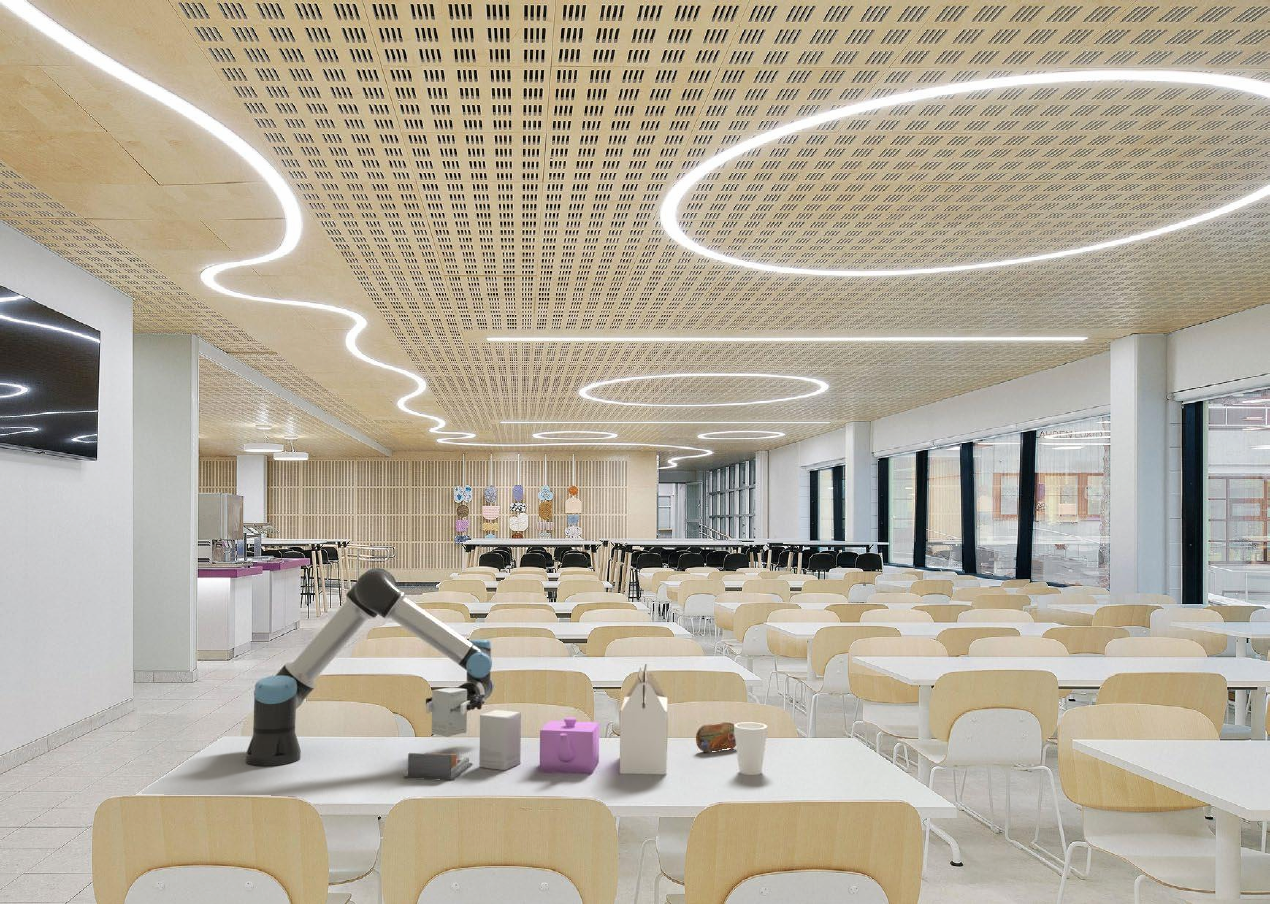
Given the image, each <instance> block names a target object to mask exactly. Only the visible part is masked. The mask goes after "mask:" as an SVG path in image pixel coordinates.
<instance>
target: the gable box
mask: <svg viewBox="0 0 1270 904" xmlns="http://www.w3.org/2000/svg"><path fill="white" fill-rule="evenodd" d="M647 665H648V664H646V663H645V664H644V667H643V668H644V669H643V670H642V667H639V671H638V675H637V679H636V680H635V682H634V683H633V685H632V686H631V688H630V689H629V691H628V692H627V694H626V695H625V696H624V697H623V701H622V705H621V708H620V711H619V713H620V715H619V716H620V717H619V719H620V720H619V721H620V722H619V723H620V724H619V774H622V775H623V774H624V775H626V774H627V775H628V774H629V775H662V776H663V775H667V769H668V768H667V767H668V710H669V708H668V707H669V706H668V705H669V703H668V701H669V699H668V697H667V696H666V694H665V693H664V691H663V689H662V688H661V687H660V685H659V683H658V682H657V680H656V678H655V677H654V675H653V674H651V673H649V672H647V671H648V669H647V668H648V666H647Z"/></svg>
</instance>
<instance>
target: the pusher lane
mask: <svg viewBox="0 0 1270 904" xmlns="http://www.w3.org/2000/svg"><path fill="white" fill-rule="evenodd" d="M442 754H443V753H442ZM442 754H425V753H418V752H416V753H415V752H409V753H408V754H407V755H408V756H407V773H406V774H404V776H403V778H404V779H412V778H424V779H423V780H432V779H440V780H439V781H451V780H453V781H455V780H456V779H457V778H458V777H460V776H461V775H462V774H463V773H465V772H466V771H467V770H469V768H470V767H472V766H473V763H472V762H470V757H469V756H465V757H464V758H460V759H459V758H458V763H457V764H456V765H455V766H453V767H452V768H451V755H442ZM465 770H466V771H465ZM455 778H456V779H455Z"/></svg>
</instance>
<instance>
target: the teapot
mask: <svg viewBox="0 0 1270 904" xmlns="http://www.w3.org/2000/svg"><path fill="white" fill-rule="evenodd" d="M577 720H578V719H577V718H576V717H573V716H572V717H571V716H570V717H564V719H563V720H548V721H547V722H546V723H545V725H544V726H543V727H542V728H541V729H540V730H539V772H540V773H561V774H563V773H564V774H585V775H586V774H588V775H592V774H593V773H594V772H595V770H596V768H597V766H598V765H599V763H600V762H599V761H600V760H599V759H600V722H598V721H597V722H595V721H594V722H593V721H577Z"/></svg>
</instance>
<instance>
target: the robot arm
mask: <svg viewBox="0 0 1270 904" xmlns="http://www.w3.org/2000/svg"><path fill="white" fill-rule="evenodd" d="M377 616H381V618H383V619H391V620H392V621H394V622H395V623H397V624H398V625H400V626H401V627H403V628H404V629H405V630H407V631H409V632H410V633H412V634H413V635H414V636H416V637H417V638H419V639H420V640H422V641H423V642H425V643H426V644H428V645H429V646H430V647H432V648H434V649H435V650H437V651H438V652H439V653H441V654H443V655H444V656H445V657H447V658H448V659H450V661H453V662H454V663H456V664H457V665H458V666H459V667H461V668H462V669H464V670H465V671H466V682H464V683H462V684H461V685H458V686H457V688H462V689H467V701H466V702H464V703H463V704H461V705H460V714H465V713H466V712H467V713H468V712H469V711H474V710H475V709H477V710H482V706H483V704H485V701H486V700H487V699H488V698H489V697H490V696H491V694H493V691H494V687H495V686H494V681H493V679H492V678H491V671H492V670H491V669H492V667H493V660H492V658H491V656H492V655H491V654H492V652H491V651H492V648H491V641H490V640H489V639H487V638H486V639H485V638H475V639H474V638H473V639H469V640H468V639H467V638H465V637H463V636H462V635H460V634H459V633H457V632H456V631H455V630H453V629H452V628H450V627H449V626H448V625H446V624H445V623H443V622H442V621H440V620H439V619H437V618H436V617H434V616H433V615H431V614H430V613H429V612H427V611H426V610H424V609H423V608H421V607H420V606H419V605H417V604H416V603H414V602H413V601H411V600H410V599H408V598H407V597H406V594H405V592H404V591H403V590H401V589H400V588H399V587H397V581H396V579H395V576H394V575H393V574H392V573H390V571H388V570H387V569H384V568H380V567H374V568H371V569H368V570H366V571H365V572H364V573H362V574H361V575H360V576H359V577H358V579H357V580H356V582H355V584H354V585H353V586H352V587H351V588H350V589H349V590H348V592H347V593H346V594H345V603H344V604H343V605H342V606H341V607H340V608H339V610H338V611H337V612H336V613H335V614H334V615H333V616H332V618H331V619H330V620H329V621H328V622H327V623H326V624H325V625H324V627H323V628H322V629H321V630H320V631H319V632H318V634H316V636H315V637H313V639H312V641H310V643H308V645H307V646H306V647H305V648H304V650H302V651H301V653H300V654H299V655H298V657H297V658H296V659H295V660H294V661H292V662H286V663H285V664H284V665H283V666H282V667H281V669H280V670H279V671H278V672H276V674H275V675H272V676H271V675H270V676H266V677H263V678H260V679H259V680H258V681H257V682H256V683H255V685H254V689H253V697H254V698H253V699H254V700H253V701H254V702H253V727H252V730H253V731H252V736H251V740H250V742H249V745H248V748H247V751H246V754H245V763H247V764H249V765H252V766H258V767H259V766H262V767H266V766H267V767H269V766H271V767H273V766H280V765H287V764H291V763H294V762H297V761H299V760H300V759H301V758H302V757H301V754H302V750H301V748H300V744H299V740H298V736H297V734H296V733H297V732H296V715H297V712H296V711H297V709H298V708H299V707H300V706H301V705H302V704H303V702H304V700H306V698H307V697H308V696H309V695H310V694H311V692H312V691H313V690H314V689H315V688H316V679H317V678H318V677H319V676H320V675H321V674H322V673H323V671H324V670H325V669H326V667H327V666H328V665H329V664H331V662H332V661H333V660H334V659H335V658H336V657H337V655H338V653H340V652H341V650H342V649H343V648H344V647H345V646H346V644H347V643H348V642H349V641H350V640H351V639H352V638H353V637H354V635H355V634H356V633H357V632H358V631H359V629H360V628H361V627H362V626H363V625H364V624H365V622H366V621H367V620H371V619H372V620H373V619H375V618H376V617H377ZM431 713H432V696H431V697H428V698H425V714H431Z"/></svg>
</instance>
